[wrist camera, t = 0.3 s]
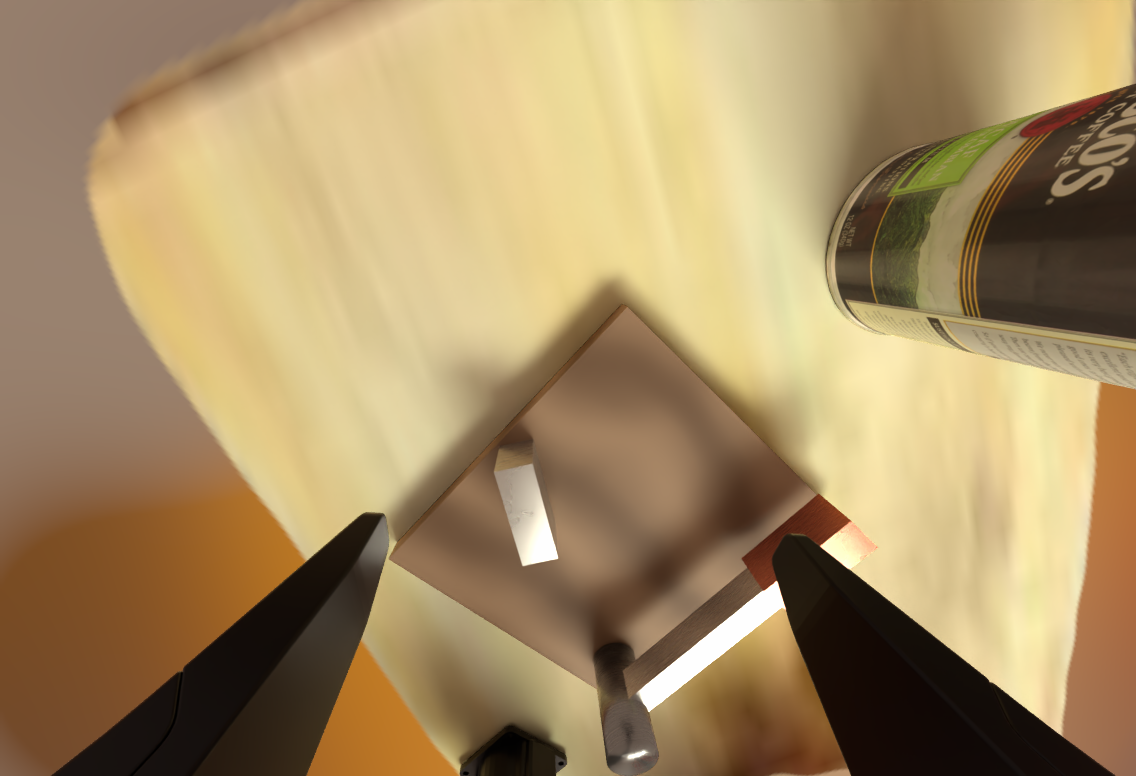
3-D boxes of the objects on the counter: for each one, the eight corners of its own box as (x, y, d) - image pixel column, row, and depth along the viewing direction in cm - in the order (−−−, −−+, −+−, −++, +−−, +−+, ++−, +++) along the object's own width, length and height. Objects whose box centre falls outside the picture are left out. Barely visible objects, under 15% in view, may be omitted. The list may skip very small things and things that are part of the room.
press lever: (614, 680, 29) (632, 782, 23) (584, 661, 28) (595, 762, 23) (826, 504, 26) (908, 574, 20) (799, 477, 25) (876, 541, 19)
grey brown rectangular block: (555, 524, 25) (558, 558, 22) (524, 531, 25) (522, 566, 22) (533, 438, 23) (532, 463, 20) (499, 445, 23) (493, 472, 20)
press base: (610, 679, 31) (613, 699, 30) (396, 542, 26) (388, 558, 25) (823, 503, 28) (838, 516, 26) (622, 303, 23) (627, 306, 21)
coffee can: (794, 223, 22) (1197, 162, 8) (970, 99, 21) (1774, -201, 7) (862, 369, 25) (1242, 498, 11) (1021, 269, 24) (1659, 281, 10)
